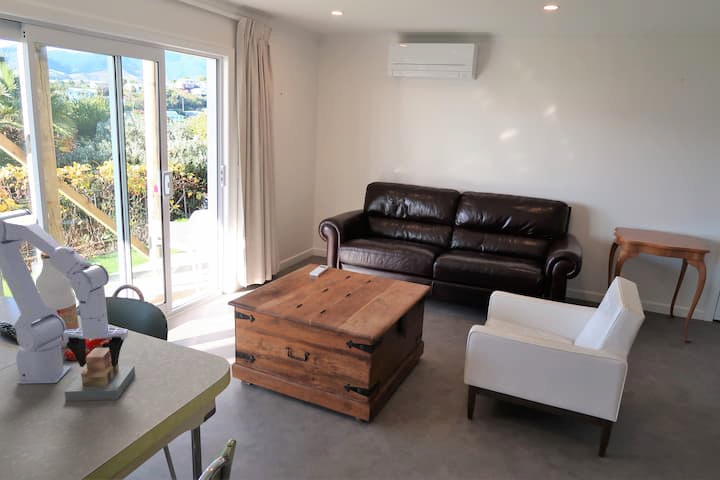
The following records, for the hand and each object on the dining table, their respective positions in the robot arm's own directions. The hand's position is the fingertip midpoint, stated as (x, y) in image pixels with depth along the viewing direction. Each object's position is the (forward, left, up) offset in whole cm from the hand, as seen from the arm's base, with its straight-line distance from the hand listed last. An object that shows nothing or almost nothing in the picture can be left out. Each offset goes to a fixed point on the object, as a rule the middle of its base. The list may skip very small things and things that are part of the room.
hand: (99, 364), depth 123 cm
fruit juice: (-22, +26, -6) cm, 35 cm away
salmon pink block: (0, 0, 0) cm, 0 cm away
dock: (0, 0, -6) cm, 6 cm away
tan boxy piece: (0, 0, -4) cm, 4 cm away
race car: (-12, +20, -7) cm, 24 cm away
